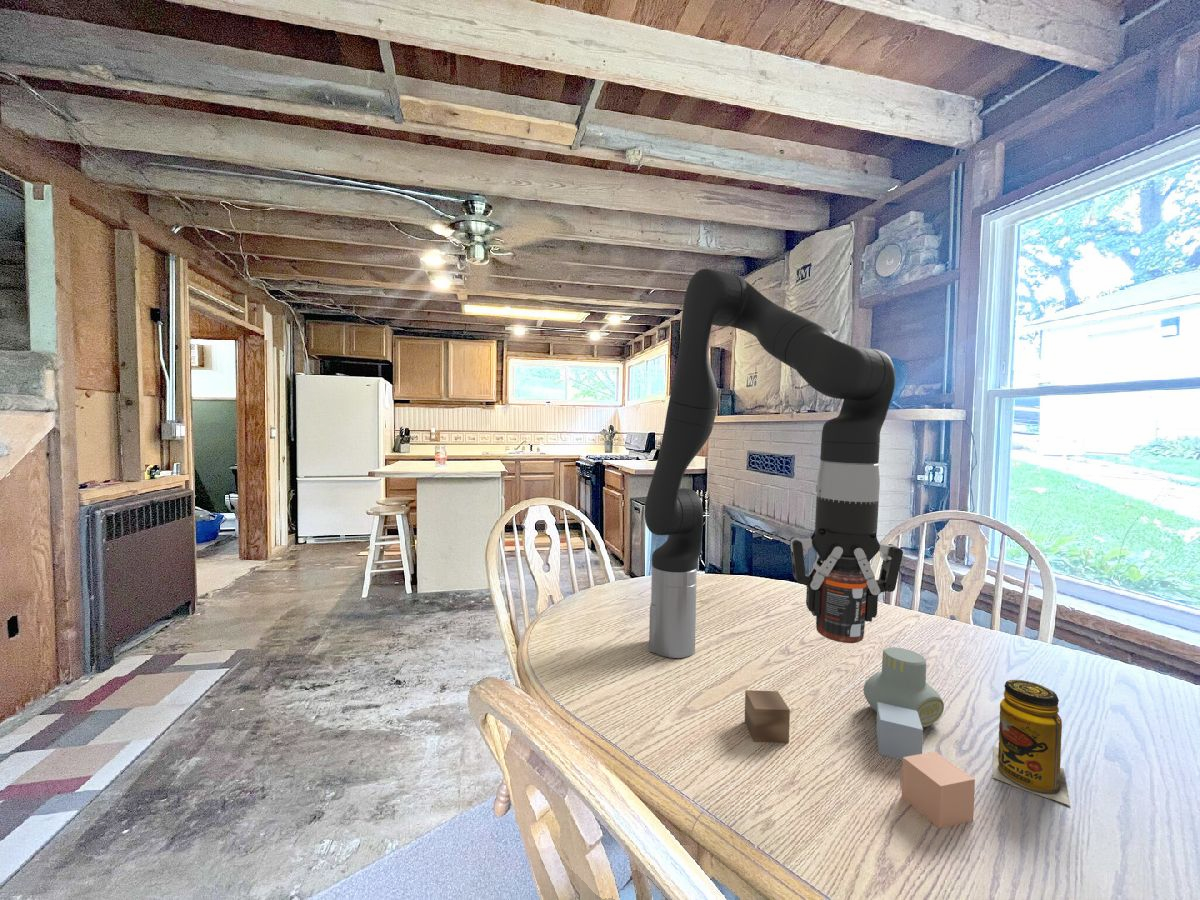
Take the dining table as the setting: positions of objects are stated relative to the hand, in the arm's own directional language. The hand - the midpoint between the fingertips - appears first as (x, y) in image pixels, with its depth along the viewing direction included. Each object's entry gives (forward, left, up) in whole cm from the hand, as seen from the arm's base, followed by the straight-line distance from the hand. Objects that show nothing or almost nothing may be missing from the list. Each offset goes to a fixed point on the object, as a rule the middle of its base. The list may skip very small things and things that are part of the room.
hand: (840, 616), depth 65 cm
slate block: (+9, +4, -20) cm, 22 cm away
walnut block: (-9, +4, -20) cm, 22 cm away
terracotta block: (+9, -7, -20) cm, 23 cm away
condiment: (+24, +2, -20) cm, 32 cm away
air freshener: (+13, +13, -20) cm, 27 cm away
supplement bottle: (0, 0, -3) cm, 3 cm away
